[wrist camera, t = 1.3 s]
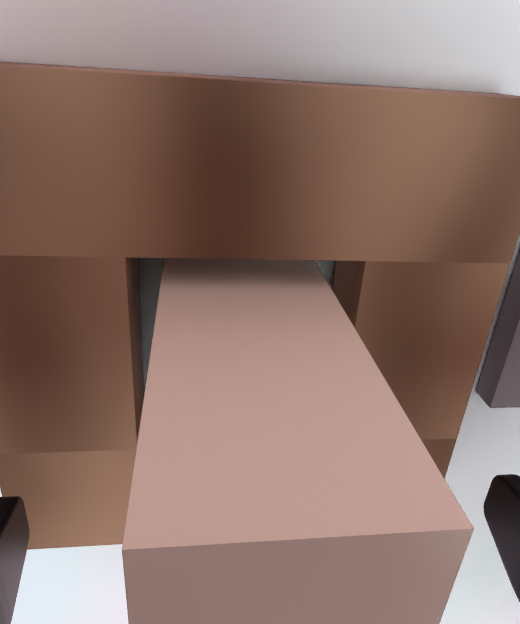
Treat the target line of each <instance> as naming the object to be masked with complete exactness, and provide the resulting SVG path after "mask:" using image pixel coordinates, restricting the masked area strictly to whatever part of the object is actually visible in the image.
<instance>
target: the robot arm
mask: <svg viewBox="0 0 520 624" xmlns="http://www.w3.org/2000/svg"><path fill="white" fill-rule="evenodd" d="M484 515H485V518H486V521H487V523H488V526H489V528H490V531H491V533H492V536H493V538H494V541H495V544H496V546H497V549H498V551H499V554H500V556H501V559H502V561H503V564H504V567H505V569H506V572H507V574H508V577H509V579H510V582H511V584H512V586H513V589H514V591H515V593H516V595H517V598H518V600H519V602H520V477H519V476H517V475H513V474H510V475H497V476H495V477H494V478H493V480H492V483H491V485H490V488H489V491H488V494H487V496H486V499H485V502H484ZM29 533H30V531H29V524H28V519H27V514H26V510H25V505H24V501H23V499H22V498H21V497H19V496H11V497H0V624H11V620H12V615H13V611H14V606H15V602H16V597H17V593H18V588H19V583H20V579H21V574H22V570H23V565H24V561H25V556H26V552H27V547H28V542H29Z"/></svg>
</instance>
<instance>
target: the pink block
mask: <svg viewBox="0 0 520 624" xmlns="http://www.w3.org/2000/svg"><path fill="white" fill-rule="evenodd" d="M473 529H474V528H473V526H472V525H471V523H470V521H469V520H468V518H467V516H466V515H465V513H464V511H463V510H462V508H461V506H460V505H459V503H458V501H457V500H456V498H455V496H454V494H453V493H452V491H451V489H450V488H449V486H448V484H447V483H446V481H445V479H444V478H443V476H442V474H441V473H440V471H439V469H438V468H437V466H436V464H435V463H434V461H433V459H432V457H431V456H430V454H429V452H428V451H427V449H426V447H425V446H424V444H423V442H422V441H421V439H420V437H419V436H418V434H417V432H416V431H415V429H414V427H413V425H412V424H411V422H410V420H409V419H408V417H407V415H406V414H405V412H404V410H403V409H402V407H401V405H400V404H399V402H398V400H397V399H396V397H395V395H394V394H393V392H392V390H391V388H390V387H389V385H388V383H387V382H386V380H385V378H384V377H383V375H382V373H381V372H380V370H379V368H378V367H377V365H376V363H375V362H374V360H373V358H372V357H371V355H370V353H369V351H368V350H367V348H366V346H365V345H364V343H363V341H362V340H361V338H360V336H359V335H358V333H357V331H356V330H355V328H354V326H353V325H352V323H351V321H350V320H349V318H348V316H347V314H346V313H345V311H344V309H343V308H342V306H341V304H340V303H339V301H338V299H337V298H336V296H335V294H334V293H333V291H332V289H331V288H330V286H329V284H328V283H327V281H326V279H325V277H324V276H323V274H322V272H321V271H320V269H319V267H318V266H317V264H316V262H315V261H314V260H263V259H199V258H164V263H163V270H162V277H161V284H160V291H159V298H158V305H157V312H156V318H155V325H154V332H153V339H152V346H151V353H150V360H149V367H148V374H147V381H146V387H145V394H144V401H143V408H142V415H141V422H140V429H139V436H138V443H137V449H136V456H135V463H134V470H133V477H132V484H131V491H130V498H129V505H128V512H127V518H126V525H125V532H124V539H123V546H122V556H123V566H124V577H125V588H126V599H127V610H128V621H129V624H439V623H440V620H441V617H442V615H443V612H444V609H445V606H446V604H447V601H448V598H449V595H450V593H451V590H452V587H453V584H454V582H455V579H456V576H457V573H458V571H459V568H460V565H461V562H462V560H463V557H464V554H465V551H466V549H467V546H468V543H469V540H470V538H471V535H472V532H473Z"/></svg>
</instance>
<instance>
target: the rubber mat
mask: <svg viewBox="0 0 520 624" xmlns="http://www.w3.org/2000/svg"><path fill="white" fill-rule="evenodd" d="M476 392H477V393H478V394H479V395H480V396H481V398H482V399H483V400H484V401H485V402H486V404H487V405H488V406H489V407H490V408H505V407H520V251H519V254H518V258H517V261H516V264H515V267H514V270H513V274H512V277H511V280H510V283H509V286H508V290H507V293H506V296H505V299H504V303H503V306H502V309H501V312H500V315H499V319H498V322H497V325H496V328H495V331H494V335H493V338H492V341H491V344H490V347H489V351H488V354H487V357H486V360H485V364H484V367H483V370H482V373H481V376H480V380H479V383H478V386H477V389H476Z"/></svg>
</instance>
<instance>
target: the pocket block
mask: <svg viewBox="0 0 520 624" xmlns="http://www.w3.org/2000/svg"><path fill="white" fill-rule="evenodd" d="M519 234H520V96H514V95H506V94H494V93H479V92H463V91H448V90H432V89H416V88H401V87H385V86H370V85H354V84H339V83H323V82H308V81H292V80H277V79H261V78H246V77H230V76H215V75H199V74H184V73H168V72H152V71H137V70H121V69H106V68H90V67H75V66H59V65H44V64H28V63H13V62H0V488H1V493H2V497H11V496H19V497H21V498H22V499H23V501H24V505H25V510H26V514H27V519H28V524H29V531H30V533H29V542H28V547H27V549H44V548H61V547H78V546H95V545H112V544H123V539H124V532H125V525H126V518H127V512H128V505H129V498H130V491H131V484H132V477H133V470H134V463H135V456H136V449H137V443H138V436H139V429H140V422H141V415H142V408H143V401H144V377H143V357H142V338H141V319H140V300H139V280H138V261H137V258H199V259H263V260H327V261H336V266H335V274H334V281H333V288H332V291H333V293H334V294H335V296H336V298H337V299H338V301H339V303H340V304H341V306H342V308H343V309H344V311H345V313H346V314H347V316H348V318H349V320H350V321H351V323H352V325H353V326H354V328H355V330H356V331H357V333H358V335H359V336H360V338H361V340H362V341H363V343H364V345H365V346H366V348H367V350H368V351H369V353H370V355H371V357H372V358H373V360H374V362H375V363H376V365H377V367H378V368H379V370H380V372H381V373H382V375H383V377H384V378H385V380H386V382H387V383H388V385H389V387H390V388H391V390H392V392H393V394H394V395H395V397H396V399H397V400H398V402H399V404H400V405H401V407H402V409H403V410H404V412H405V414H406V415H407V417H408V419H409V420H410V422H411V424H412V425H413V427H414V429H415V431H416V432H417V434H418V436H419V437H420V439H421V441H422V442H423V444H424V446H425V447H426V449H427V451H428V452H429V454H430V456H431V457H432V459H433V461H434V463H435V464H436V466H437V468H438V469H439V471H440V473H441V474H442V476H443V478H445V475H446V472H447V469H448V465H449V462H450V459H451V456H452V452H453V449H454V446H455V443H456V439H457V436H458V433H459V429H460V426H461V423H462V420H463V416H464V413H465V410H466V407H467V403H468V400H469V397H470V394H471V390H472V387H473V384H474V380H475V377H476V374H477V371H478V367H479V364H480V361H481V358H482V354H483V351H484V348H485V345H486V341H487V338H488V335H489V332H490V328H491V325H492V322H493V318H494V315H495V312H496V309H497V305H498V302H499V299H500V296H501V292H502V289H503V286H504V283H505V279H506V276H507V273H508V270H509V266H510V263H511V260H512V256H513V253H514V250H515V247H516V243H517V240H518V237H519Z"/></svg>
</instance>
